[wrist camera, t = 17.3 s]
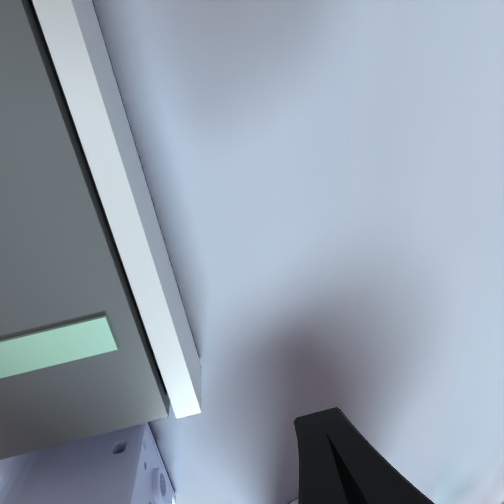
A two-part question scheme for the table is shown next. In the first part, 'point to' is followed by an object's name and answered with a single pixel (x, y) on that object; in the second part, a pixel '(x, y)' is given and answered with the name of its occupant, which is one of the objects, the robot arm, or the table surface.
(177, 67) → the table surface
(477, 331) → the table surface
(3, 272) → the block
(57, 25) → the tray
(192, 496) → the table surface
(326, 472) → the robot arm
